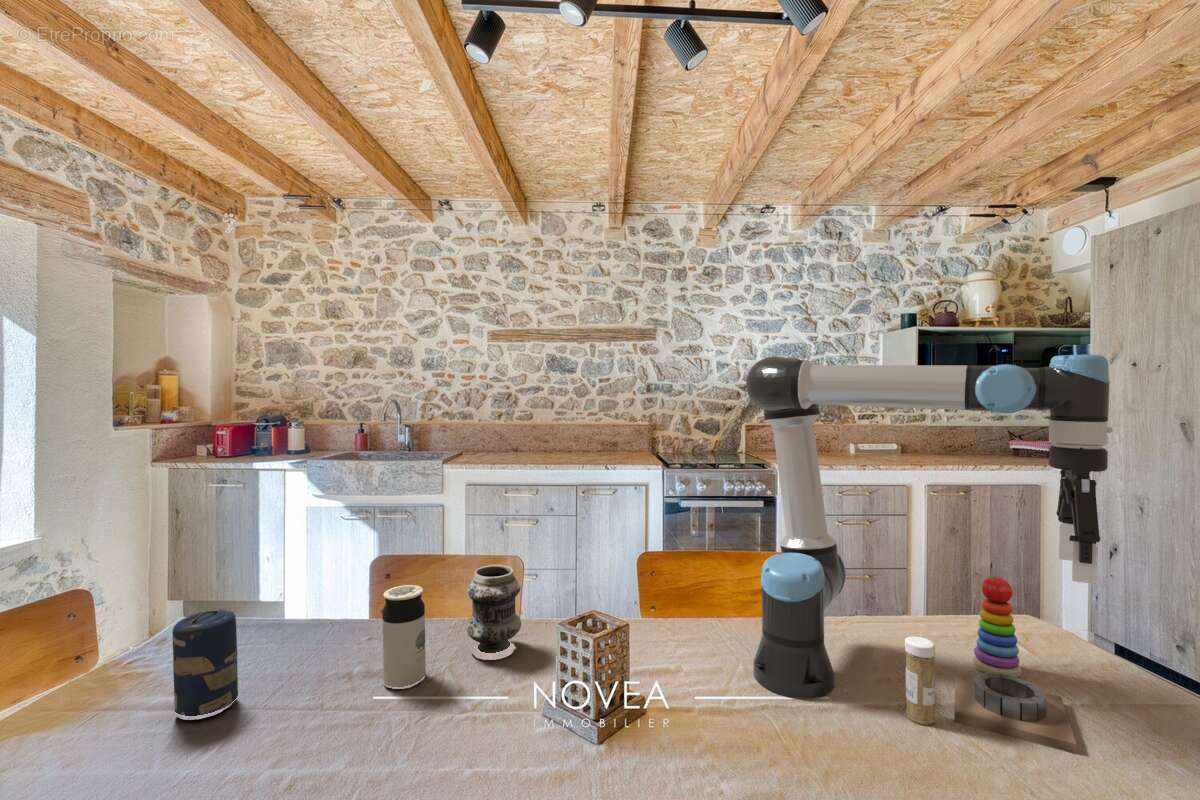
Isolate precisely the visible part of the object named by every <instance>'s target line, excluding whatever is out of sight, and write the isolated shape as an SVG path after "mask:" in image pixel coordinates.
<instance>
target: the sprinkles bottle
mask: <svg viewBox="0 0 1200 800" xmlns="http://www.w3.org/2000/svg"><path fill="white" fill-rule="evenodd" d="M904 639H905V640H904V650H905V697H906V710H905V714H906V715H905V716H907V718H908V719H910V721H912V722H914V723H917V724H920V725H927V726H929V725H933V724H934V723H935V722H936V716H935V715H936V714H935V710H936V709H935V702H936V697H935V696H936V695H935V693H936V692H935V691H936V690H935V689H936V688H935V660H934V659H935V656H936V645H935V643H934V642H933V641H932V640H930V639H928V638H925V637H920V636H908V637H906V638H904Z"/></svg>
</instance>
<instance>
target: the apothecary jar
mask: <svg viewBox="0 0 1200 800" xmlns="http://www.w3.org/2000/svg"><path fill="white" fill-rule="evenodd" d="M473 574H474V576H473V579H472V580H471V581H470V582H469V583H468V584H467V587H466V594H467V596H468V598H470V599H471V600H472V605H471V606H472V610H471V617H470V618H468V620H467V622H466V625H465V626H466V627H465V629H466V633H467V635H468V636H469V637H470V638H471V640H474V641H475V642H477V643H480V644H479V645H478V649H479V650H480V651H481V652H485V653H496V652H500V651H503V650H505V649H507V648H508V647H509V646H510V642H509V641H510V640H511V639H513V638H514V637H515V636H516V635H517V634H518V633H519V631H520V630H521V628H522V627H521V626H522V621H521V618H520V616H519V615H518V614H517V613H516V597H517V596H518V595H519V594H520V591H521V588H522V587H521V582H520V581H519V580H518V578H517V577H516V576H515V573H514V569H513V568H512V567H511V566H508V565H505V564H504V565H502V564H492V565H490V564H489V565H484V566H482V567H479V568H477V569H475V571H474V573H473ZM508 640H509V641H508Z"/></svg>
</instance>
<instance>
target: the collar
mask: <svg viewBox="0 0 1200 800" xmlns="http://www.w3.org/2000/svg"><path fill="white" fill-rule="evenodd" d="M973 677H974V679H975V700H976V701H977V702H978V703H979V704H980V705H981V706H982V707H984V708H985V709H987V710H989V711H991V712H993V713H996V714H998V715H1000V716H1001V715H1002V716H1003V717H1006V718H1010V719H1014V720H1018V721H1020V720H1021V721H1033V722H1037V721H1040V720H1042V719H1044V718H1046V696H1045V693H1046V692H1045V691H1043V690H1042V689H1041V688H1039V687H1038V686H1036V685H1035V684H1033V683H1032V682H1029V681H1026V680H1024V679H1022V678H1019V677H1016V678H1015V677H1013V676H1008V675H1004V674H998V673H984V672H982V673H979V674H977V675H975V676H973ZM1002 694H1004V695H1002ZM1005 695H1008V696H1005ZM1009 696H1013V697H1016V698H1013V697H1009Z"/></svg>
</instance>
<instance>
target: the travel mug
mask: <svg viewBox="0 0 1200 800" xmlns="http://www.w3.org/2000/svg"><path fill="white" fill-rule="evenodd" d="M423 593H424V588H423V587H421V586H420V585H415V584H404V585H399V586H394V587H392V588H389V589H387V590H385V591H384V593H383V598H384V599H385V604H384V606H383V608H382V611H381V613H382V614H381V615H382V670H383V672H382V673H383V675H382V677H383V681H384V683H385V684H386V685H388V686H391V687H404V686H408V685H412V684H414V683H416V682H418V681H420V680H421V679H422V678H423V677H424V676H425V674H426V675H427V673H426V672H427V671H426V669H427V668H426V608H425V607H426V606H425V602H424V601H423V599H422V595H423Z"/></svg>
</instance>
